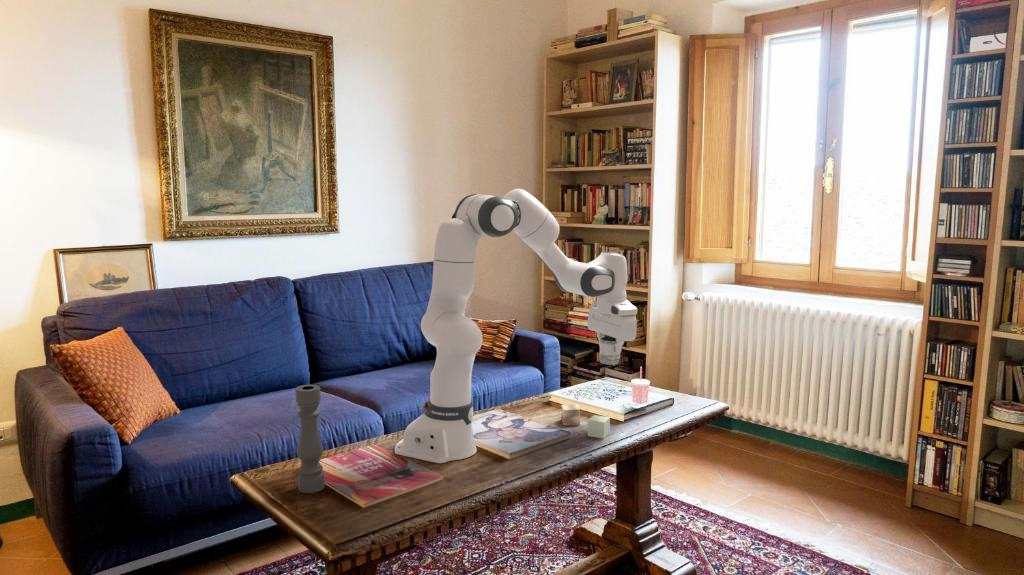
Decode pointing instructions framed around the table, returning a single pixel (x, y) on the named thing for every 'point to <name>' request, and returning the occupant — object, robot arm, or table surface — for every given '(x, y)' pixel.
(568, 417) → the birch cube
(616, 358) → the potted succulent
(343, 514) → the table surface
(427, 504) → the table surface
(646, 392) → the beverage cup
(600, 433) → the sage cube
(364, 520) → the table surface
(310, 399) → the candle holder
